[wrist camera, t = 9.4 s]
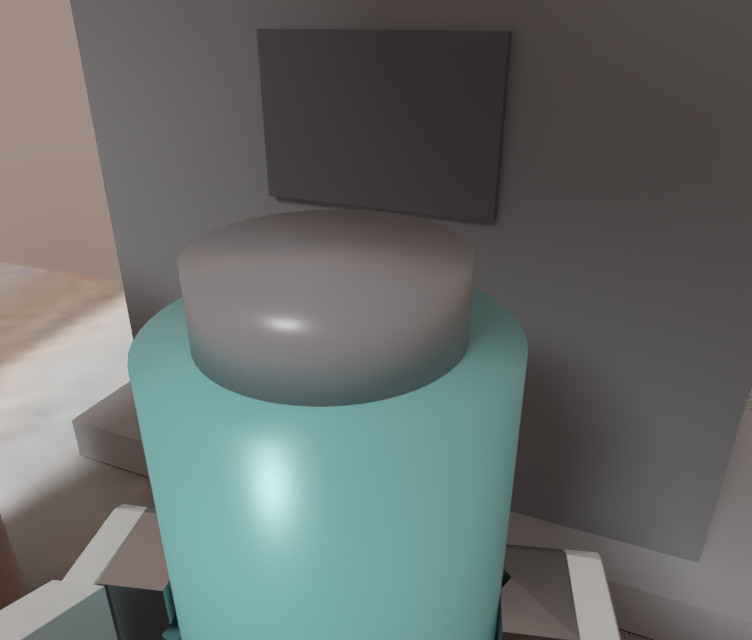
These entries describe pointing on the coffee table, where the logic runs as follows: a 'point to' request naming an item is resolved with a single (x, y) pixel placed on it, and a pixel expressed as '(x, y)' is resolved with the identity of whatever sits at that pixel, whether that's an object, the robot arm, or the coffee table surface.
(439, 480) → the cylinder
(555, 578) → the robot arm
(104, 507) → the coffee table surface
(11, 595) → the terracotta cartridge
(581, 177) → the block
